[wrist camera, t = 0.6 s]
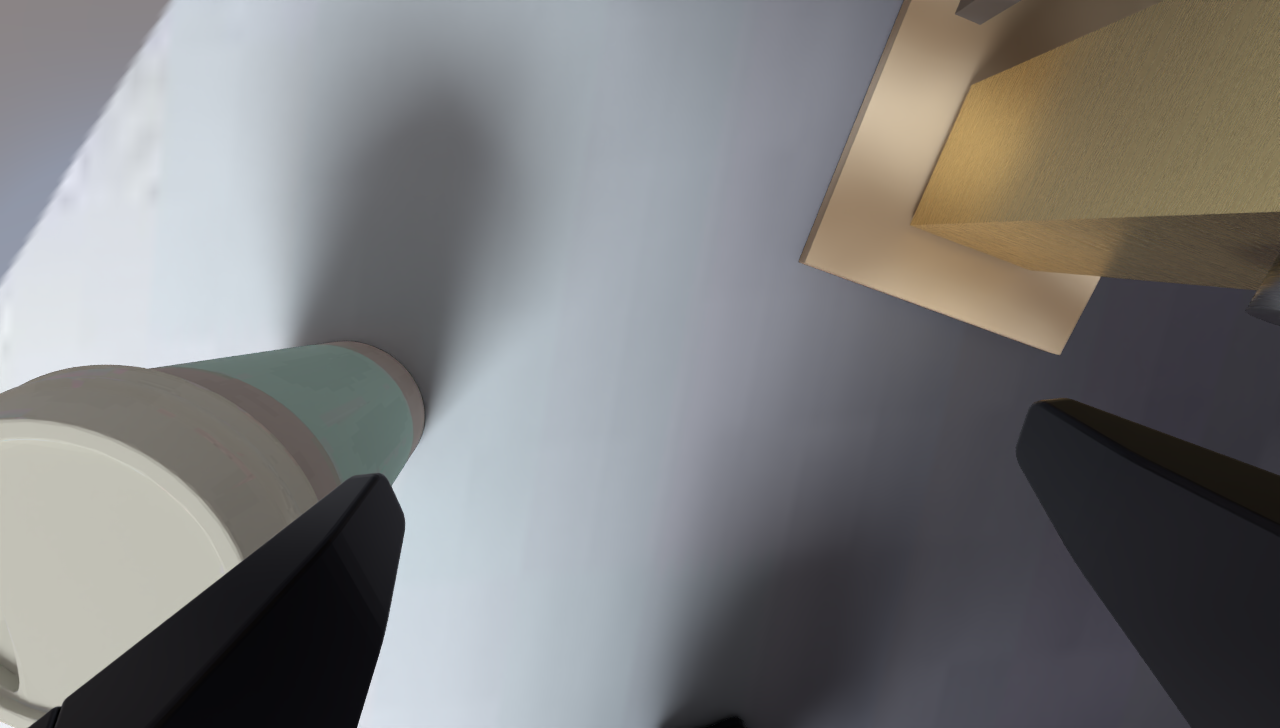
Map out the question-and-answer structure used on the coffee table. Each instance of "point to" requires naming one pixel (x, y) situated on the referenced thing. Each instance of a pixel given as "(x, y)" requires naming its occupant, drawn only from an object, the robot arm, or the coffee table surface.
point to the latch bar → (1128, 154)
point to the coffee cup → (168, 491)
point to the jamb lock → (909, 151)
